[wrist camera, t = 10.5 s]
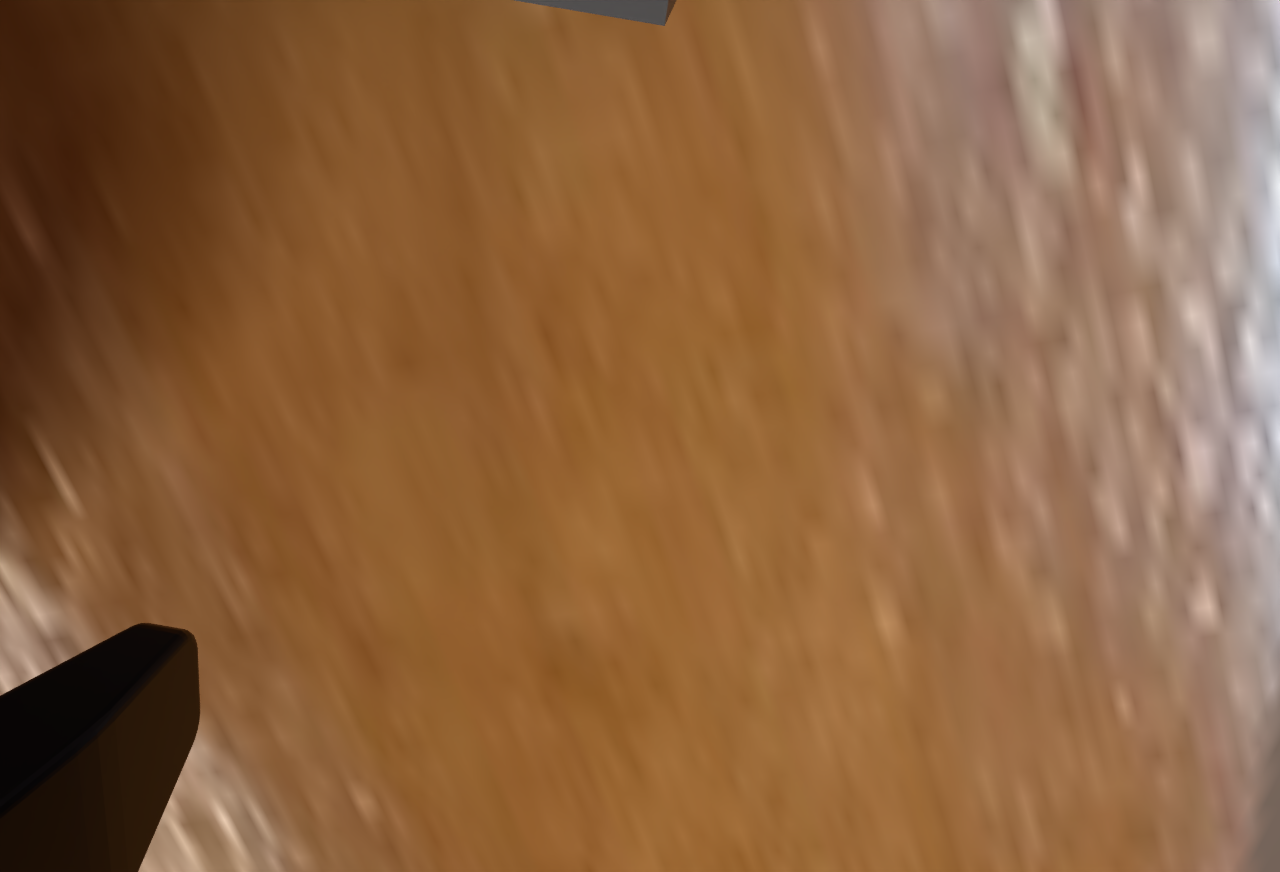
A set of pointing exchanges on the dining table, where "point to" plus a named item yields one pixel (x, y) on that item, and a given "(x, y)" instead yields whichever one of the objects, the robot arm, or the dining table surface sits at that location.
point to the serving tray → (617, 8)
